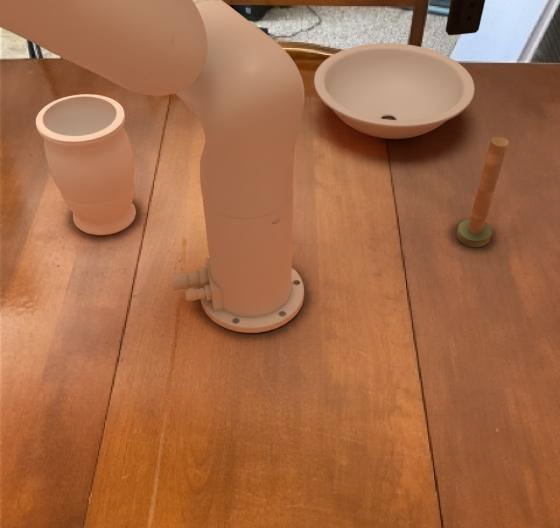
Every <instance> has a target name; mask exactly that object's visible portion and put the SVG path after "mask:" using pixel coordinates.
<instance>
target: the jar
mask: <svg viewBox="0 0 560 528" xmlns="http://www.w3.org/2000/svg"><path fill="white" fill-rule="evenodd" d="M125 122H126V115H125V110H124V108H123V106H122V105H121V104H120V102H118V101H116V100H115V99H113V98H110V97H108V96H105V95H101V94H92V93H91V94H90V93H83V94H82V93H81V94H73V95H68V96H64V97H60V98H59V99H55V100H54V101H52V102H50V103H48V104H46V105H45V106H43V108H42V109H40V111H39V112H38V113H37V115H36V118H35V125H36V130H37V132H38V134H39V135H40V137H41V138H42V139H43V147H44V153H45V159H46V162H47V166H48V170H49V173H50V175H51V177H52V179H53V182H54V184H55V185H56V187H57V189H58V190H59V193H60V195H61V198H62V199H63V201H64V203H65V204H66V206H67V207H68V208H69V209H70V212H72V213H73V214H72V219H73V220H72V221H73V223H74V225H75V227H77V229H79V230H80V231H81V232H83V233H86V234H89V235H94V236H108V235H113V234H116V233H119V232H122V231H124V230H125V229H127V228H128V227H130V225H131V224H132V223H133V222H134V220H135V219H136V215H137V211H136V207H135V205H134V203H133V201H134V197H135V161H134V155H133V150H132V146H131V143H130V139H129V136H128V133H127V130H126V128H125V127H124V126H125Z"/></svg>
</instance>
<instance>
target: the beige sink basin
mask: <svg viewBox="0 0 560 528" xmlns="http://www.w3.org/2000/svg"><path fill="white" fill-rule="evenodd" d="M313 86H314V90H315V92H316V94H317V96H318V98H319V99H320V100H321V101H322V103H324V105H326V107H327V108H329V109H331V110H332V111H333V113H334V114H335V115H336V116H337V117H338V118H339V119H340V120H341V121H342V122H344V124H346V125H347V126H349V127H350V128H352V129H353V130H355V131H358V132H360V133H362V134H364V135H368V136H371V137H375V138H380V139H387V140H388V139H389V140H401V139H402V140H403V139H410V138H415V137H418V136H422V135H424V134H428V133H429V132H432V131H434V130H435V129H437V128H439V127H440V126H442V125H443V124H444V123H446V122H447V121H449V120H451V119H453V118H455V117H456V116H459V115H460V114H461V113H463V112H464V111H465V110H466V109H467V108H468V107H469V106H470V104H471V103H472V101H473V99H474V96H475V82H474V80H473V77H472V75H471V74H470V73H469V71H468V70H467V69H466V68H465V67H464V66H463V65H462V64H461V63H460V62H458V61H457V60H455V59H453V58H452V57H450V56H447V55H445V54H443V53H441V52H439V51H437V50H433V49H431V48H426V47H422V46H418V45H412V44H407V43H396V42H395V43H394V42H379V43H377V42H376V43H369V44H367V43H366V44H361V45H357V46H356V45H355V46H352V47H348V48H346V49H343V50H340V51H338V52H336V53H334V54H332V55H330V56H329V57H328V58H326V59H325V60H323V61H322V63H321V64H319V66H318V67H317V69H316V71H315V73H314V78H313ZM384 117H392V118H394V119H386V118H384Z"/></svg>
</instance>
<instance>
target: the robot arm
mask: <svg viewBox="0 0 560 528" xmlns="http://www.w3.org/2000/svg"><path fill="white" fill-rule="evenodd" d="M485 4H486V0H450V4H449V8H448V9H449V10H448V14H447V19H446V25H445V33H446V34H447V35H448V36H459V35H469V34H476V33H477V32H478V31H479V30H480V27H481V22H482V16H483V13H484V8H485ZM0 28H1V29H3V30H5V31H7V32H9V33H11V34H14V35H16V36H18V37H20V38H21V39H24V40H26V41H29V42H30V43H33V44H35V45H37V46H39V47H41V48H42V49H44V50H46V51H47V52H49V53H52V54H53V55H56V56H58V57H60V58H62V59H64V60H66V61H69V62H71V63H73V64H75V65H77V66H79V67H81V68H84V69H86V70H88V71H90V72H92V73H94V74H95V75H98V76H100V77H102V78H104V79H106V80H108V81H109V82H112V83H114V84H115V85H117V86H119V87H121V88H123V89H126V90H128V91H131V92H133V93H135V94H140V95H141V94H142V95H145V96H148V97H149V96H150V97H152V96H154V97H164V96H170V95H174V94H175V95H176V96H177V97H178V98H179V99H180V100H181V101H182V102H183V103H184V104H185V105H186V107H187V108H188V109H189V110H190V112H191V113H193V114H194V115H195V116H196V118H197V119H198V120H199V122H200V124H201V126H202V129H203V132H204V145H203V149H202V152H201V155H200V161H199V181H200V182H199V183H200V191H201V197H202V206H203V215H204V224H205V225H204V226H205V232H206V233H205V234H206V242H207V250H208V251H207V253H208V257H206V258H205V259H204V261H205V266H204V267H198V268H197V271H194V272H193V271H192V272H179V273H173V274H171V279H172V280H171V281H172V285H173V286H172V287H173V291H181V290H184V295H185V301H186V302H194V301H197V300H200V302H201V306H202V309H203V311H204V312H205V314H206V315H207V316H208V317H209V318H210V320H211V321H213V322H214V323H215V324H217V325H218V326H220V327H223V328H225V329H226V330H231V331H232V332H233V331H234V332H236V333H237V332H238V333H243V334H244V333H246V334H248V333H249V334H253V333H254V334H256V333H263V332H264V333H265V332H269V331H271V330H276V329H278V328H280V327H282V326H284V325H286V324H287V323H289V322H291V320H292V319H294V318H295V316H296V315H297V314H298V313H299V312H300V310H301V308H302V306H303V303H304V299H305V286H304V282H303V279H302V277H301V275H300V274H299V273H298V272H297V270H296V269H295V268H293V215H294V214H293V213H294V211H293V210H294V164H295V163H294V161H295V151H296V143H297V139H298V138H297V137H298V133H299V129H300V125H301V122H302V117H303V113H304V107H305V85H304V81H303V77H302V75H301V72H300V70H299V68H298V66H297V63H296V62H294V59H293V58H292V57H291V55H290V54H289V53H288V52H287V51H286V50H285V49H284V48H283V46H282V45H280V43H278V42H277V41H276V40H275V39H274V38H272V37H271V36H269V35H268V34H267V33H265V31H263V30H262V29H261V28H260V27H258V26H257V25H255V23H254V22H251V21H250V20H248V19H247V18H246V17H244V16H243V15H242V14H241V13H239V12H238V11H236V10H235V9H234V8H232V7H231V6H230V5H229V4H228V3H226V2H225V1H224V0H0ZM194 287H200V288H194ZM190 288H191V289H190Z"/></svg>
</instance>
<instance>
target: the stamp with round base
mask: <svg viewBox="0 0 560 528" xmlns="http://www.w3.org/2000/svg"><path fill="white" fill-rule="evenodd" d="M509 144H510V143H509V140H508V139H507V138H506V137H503V136H494V137H492V138H491V140H490V142H489V146H488V150H487V153H486V158H485V162H484V165H483V169H482V172H481V177H480V180H479V183H478V188H477V191H476V195H475V198H474V201H473V204H472V205H473V206H472V209H471V212H470V217H469V218H467V219H464V220H462V221H461V222H460V223H459V224H458V226H457V229H456V234H455V235H456V236H455V237H456V239H457V240H458V241H459V242H460V244H463V245H464V246H466V247H469V248H482V247H485V246H486V245H488V244H489V243H490V240H491V238H492V234H493V230H492V227H491V226H490V225H489V224H488V223H487V222H486V221H487V219H488V215H489V211H490V208H491V205H492V201H493V197H494V195H495V192H496V191H495V190H496V188H497V184H498V181H499V177H500V174H501V170H502V167H503V164H504V160H505V157H506V154H507V150H508V147H509Z"/></svg>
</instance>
